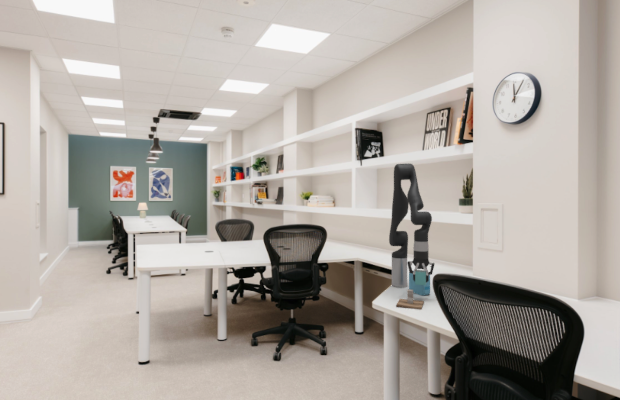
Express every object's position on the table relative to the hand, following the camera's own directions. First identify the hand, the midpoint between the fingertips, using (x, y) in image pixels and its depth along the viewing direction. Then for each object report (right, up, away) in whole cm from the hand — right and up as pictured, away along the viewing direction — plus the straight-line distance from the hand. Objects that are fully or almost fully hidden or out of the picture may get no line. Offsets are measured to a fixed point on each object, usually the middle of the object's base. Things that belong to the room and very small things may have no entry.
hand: (420, 281), depth 198 cm
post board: (-8, -10, -9) cm, 15 cm away
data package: (+3, -10, +14) cm, 17 cm away
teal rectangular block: (0, -1, 0) cm, 1 cm away
